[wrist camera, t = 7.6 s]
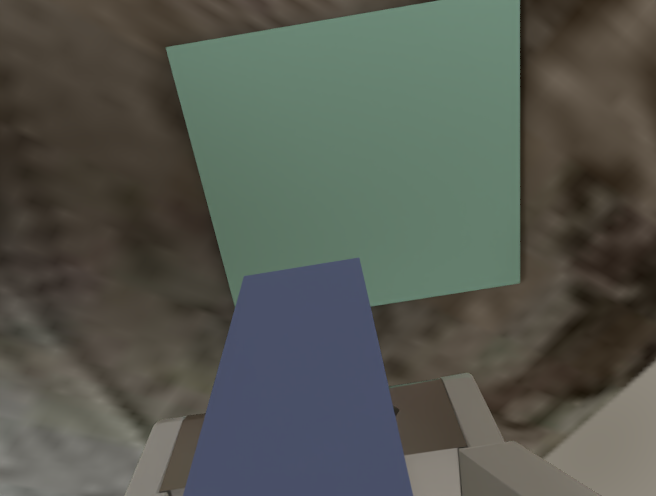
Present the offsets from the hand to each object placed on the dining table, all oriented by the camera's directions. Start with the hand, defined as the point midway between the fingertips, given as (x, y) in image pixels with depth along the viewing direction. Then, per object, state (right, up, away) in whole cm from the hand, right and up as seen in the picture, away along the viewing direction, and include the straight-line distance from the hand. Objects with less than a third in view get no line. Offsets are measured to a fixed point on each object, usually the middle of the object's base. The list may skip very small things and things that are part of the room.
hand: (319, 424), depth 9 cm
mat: (+2, +7, +15) cm, 16 cm away
